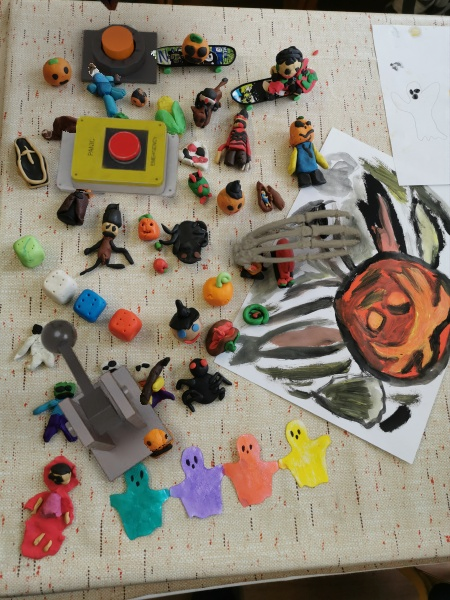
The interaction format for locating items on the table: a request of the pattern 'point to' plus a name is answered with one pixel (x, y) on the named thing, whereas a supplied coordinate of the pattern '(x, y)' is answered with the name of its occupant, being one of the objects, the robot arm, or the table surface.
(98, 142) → the emergency button
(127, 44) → the orange button
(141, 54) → the button box
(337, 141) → the table surface
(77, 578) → the table surface
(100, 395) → the switch lever
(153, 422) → the switch bracket
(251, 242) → the skeletal hand
